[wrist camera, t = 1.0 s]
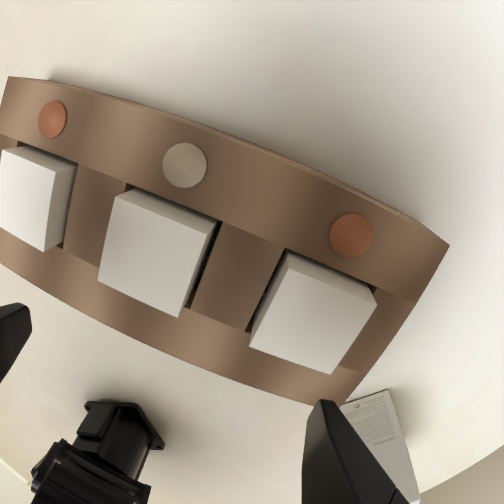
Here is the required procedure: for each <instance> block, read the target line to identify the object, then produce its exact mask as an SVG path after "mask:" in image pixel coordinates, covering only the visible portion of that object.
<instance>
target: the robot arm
mask: <svg viewBox="0 0 504 504" xmlns="http://www.w3.org/2000/svg"><path fill="white" fill-rule="evenodd" d="M31 332H32V323H31V317H30V310H29V308H28V307H27V306H26V305H23V304H21V303H18V302H17V303H13V304H9V305H5V306H1V307H0V383H1V381H2V380H3V378H4V377H5V376H6V374H7V373H8V371H9V370H10V368H11V367H12V365H13V363H14V362H15V360H16V358H17V357H18V355H19V353H20V351H21V350H22V348H23V346H24V345H25V343H26V341H27V340H28V338H29V337H30V335H31ZM84 407H85V409H86V410H87V412H88V414H87V415H86V417H85V419H84V420H83V422H82V423H81V425H80V427H79V428H78V430H77V435H78V436H77V438H76V440H75V441H74V443H73V445H71V444H69V443H67V441H66V440H64V439H63V438H62V439H61V440H60V442H59V443H58V442H54V443H53V445H52V447H51V448H50V450H49V451H48V453H47V454H46V455H45V456H44V457H43V458H42V459H41V460H40V461H39V462H38V463H37V464H36V465H35V466H34V467H33V469H32V471H31V474H32V477H33V481H32V487H31V491H32V492H33V493H35V497H34V499H33V501H32V503H31V504H147V502H148V498H149V494H150V490H151V486H149V485H147V484H143V483H140V482H138V478H139V476H140V473H141V471H142V468H143V466H144V463H145V461H146V458H147V456H148V453H149V451H150V449H151V450H163V449H164V447H165V445H164V443H163V442H162V440H161V439H160V438H159V436H158V435H157V433H156V432H155V430H154V429H153V428H152V426H151V425H150V423H149V422H148V420H147V419H146V417H145V416H144V414H143V413H142V411H141V410H140V408H139V407H138V406H137V405H136V404H132V403H96V402H86V404H85V405H84ZM302 504H410V503H409V502H408V501H407V499H406V498H405V497H404V495H403V494H402V493H401V491H400V490H399V489H398V488H396V485H395V484H394V482H393V481H392V480H391V478H390V477H389V476H388V474H387V473H386V471H385V470H384V469H383V467H382V466H381V465H380V463H379V462H378V461H377V459H376V458H375V457H374V455H373V454H372V452H371V451H370V450H369V448H368V447H367V446H366V444H365V443H364V442H363V440H362V439H361V437H360V436H359V435H358V433H357V432H356V431H355V429H354V428H353V426H352V425H351V424H350V422H349V421H348V420H347V418H346V417H345V415H344V414H343V413H342V411H341V410H340V408H339V407H338V406H337V404H336V403H335V402H334V401H333V400H328V399H319V400H318V401H317V403H316V405H315V406H314V408H313V410H312V412H311V414H310V415H309V417H308V420H307V426H306V436H305V445H304V453H303V462H302Z"/></svg>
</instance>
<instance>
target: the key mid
mask: <svg viewBox="0 0 504 504" xmlns="http://www.w3.org/2000/svg"><path fill="white" fill-rule="evenodd" d="M218 223H219V220H218V219H215V218H213V217H211V216H208V215H206V214H203V213H201V212H198V211H196V210H194V209H191V208H189V207H186V206H184V205H181V204H179V203H176V202H174V201H171V200H169V199H167V198H164V197H162V196H159V195H157V194H154V193H152V192H149V191H147V190H144V189H142V188H139V187H137V188H135V189H132V190H130V191H127V192H125V193H123V194H120V195H118V196H115V200H114V204H113V208H112V212H111V216H110V220H109V225H108V229H107V234H106V238H105V243H104V248H103V253H102V258H101V263H100V269H99V274H98V280H97V281H99V282H101V283H103V284H105V285H108V286H110V287H112V288H114V289H116V290H118V291H120V292H122V293H124V294H126V295H128V296H130V297H132V298H135V299H137V300H139V301H141V302H143V303H145V304H148V305H150V306H152V307H154V308H156V309H159V310H161V311H163V312H165V313H168V314H170V315H172V316H174V317H177V318H178V316H179V315H180V313H181V311H182V309H183V307H184V306H185V304H186V302H187V300H188V299H189V297H190V295H191V293H192V291H193V290H194V287H195V284H196V281H197V279H198V276H199V273H200V271H201V268H202V265H203V262H204V260H205V257H206V254H207V252H208V249H209V246H210V244H211V241H212V239H213V236H214V233H215V231H216V228H217V225H218Z"/></svg>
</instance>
